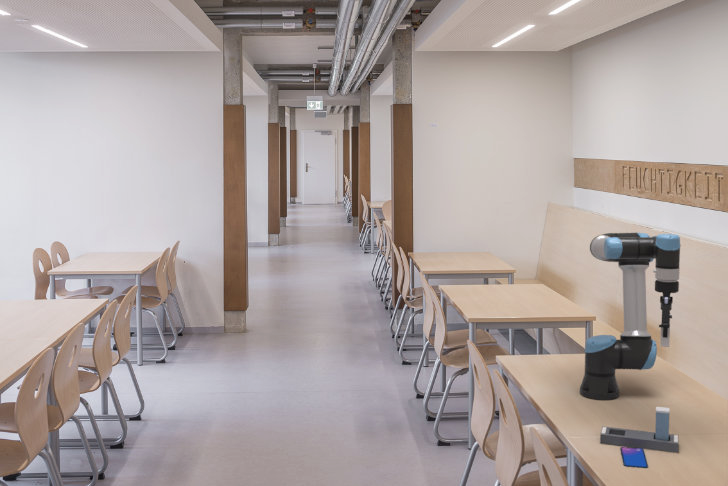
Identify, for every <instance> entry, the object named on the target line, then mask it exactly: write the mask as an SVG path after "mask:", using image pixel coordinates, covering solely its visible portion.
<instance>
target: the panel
mask: <svg viewBox="0 0 728 486" xmlns="http://www.w3.org/2000/svg"><path fill="white" fill-rule="evenodd" d="M599 439H600V440H599V444H603V445H611V446H612V445H613V446H620V447H633V448H642V449H644V450H652V451H661V452H668V453H677V454H679V446H680V445H679V434H671V433H669V440H668V441H665V440H656V439H655V431H645V430H638V429H637V430H636V429H630V428H629V429H627V428H621V427H620V428H619V427H609V426H602V427H601V431H600V438H599Z"/></svg>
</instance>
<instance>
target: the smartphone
mask: <svg viewBox="0 0 728 486" xmlns="http://www.w3.org/2000/svg"><path fill="white" fill-rule="evenodd" d="M619 450H620V455H621V458H622V459H621V460H622V465H623V466H624V467H627V468H638V469H640V468H641V469H648V468H649V464H648V461H647V457H646V452H645V449H643V448H635V447H627V446H620V448H619Z"/></svg>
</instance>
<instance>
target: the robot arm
mask: <svg viewBox="0 0 728 486" xmlns="http://www.w3.org/2000/svg"><path fill="white" fill-rule="evenodd" d="M681 245H682V244H681V237H680V236H679V234H673V233H660V234H659V233H658V234H657V235H654V236H651V237H650V235H649V234H648V233H644V232H607V233H603V234H599V235H597V236H595V237H594V238H593V239H592V240H591V241H590V244H589V252H590V254H591V255H592V257H594V258H595V259H597V260H599V261H603V262H611V263H617V264H618V268H619V269H620V270H621V271H622V295H623V296H622V298H623V301H622V303H623V304H622V305H623V306H622V307H623V331H622V333H620V335H619V339H617V338H616V336H615V335H611V334H599V335H594V336H591V337H588V338H587V339H586V341H585V345H584V375H583V378H582V381H581V383H580V386H579V394H580V395H581V396H582V395H583V396H582V397H584V396H585V398H587V397H588V398H587V399H592V400H601V401H606V400H607V401H609V400H615V399H618V398H619V397H620V388H619V385H618V381H617V378H616V370H639V371H642V370H650V369H652V368H653V367H654V365H655V363H656V359H657V353H658V349H657V348H658V347H657V342H656V341H655V340H654V339H652V335H651V333H650V332H648V324H647V323H648V320H647V318H648V317H647V314H648V313H647V285H646V284H647V283H646V282H647V281H646V271H647V269H648V268H649V267H650V263H652V262H653V261H654V260H655V269H653V273H654V274H655V275H654V277H655V281H654V291H655V292H656V293H662V295H660V299H659V303H660V310H661V324H659V325H658V328H660V344H659V345H660V347H662V348H663V347H664V348H670V338H671V337H670V335H671V334H670V331H671V319H673V315H671V311H672V306H673V305H672V304H673V303H674V302H673V301H674V300H673V296H671V294H676V293H679V290H680V289H679V288H680V282H679V280H680V258H681Z"/></svg>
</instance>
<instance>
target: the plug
mask: <svg viewBox="0 0 728 486" xmlns="http://www.w3.org/2000/svg"><path fill="white" fill-rule="evenodd" d="M669 430H670V407H664V406H656V407H655V431H654V432H655V439H656V440H665V441H668V440H669V434H670V431H669Z"/></svg>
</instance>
